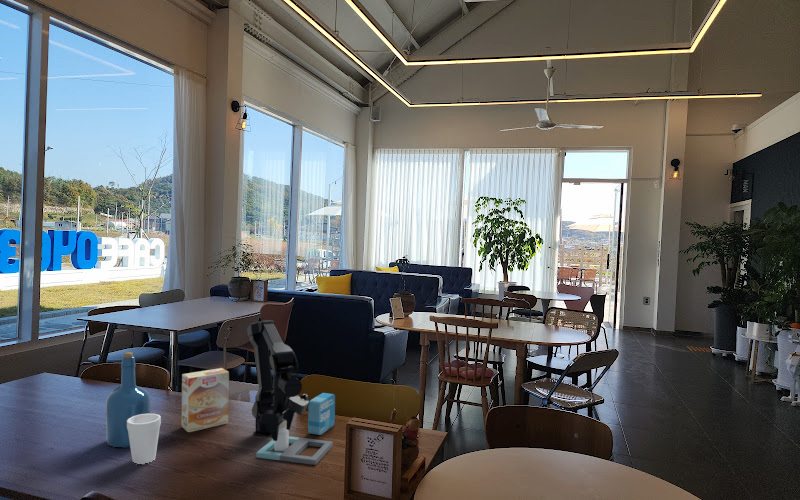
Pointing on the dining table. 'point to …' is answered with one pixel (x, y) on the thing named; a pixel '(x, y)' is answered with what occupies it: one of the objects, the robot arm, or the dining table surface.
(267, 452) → the panel
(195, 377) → the coffeecake box
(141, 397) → the wine bottle
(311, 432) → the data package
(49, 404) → the dining table surface
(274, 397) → the robot arm
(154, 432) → the foam cup
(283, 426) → the white salt shaker
